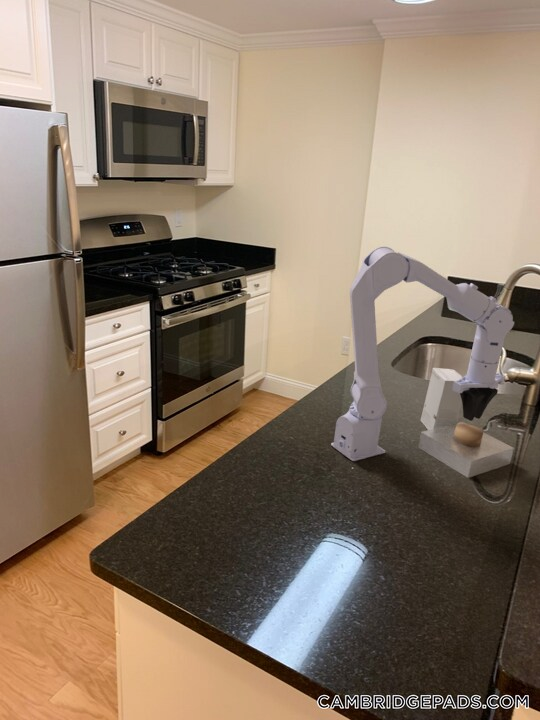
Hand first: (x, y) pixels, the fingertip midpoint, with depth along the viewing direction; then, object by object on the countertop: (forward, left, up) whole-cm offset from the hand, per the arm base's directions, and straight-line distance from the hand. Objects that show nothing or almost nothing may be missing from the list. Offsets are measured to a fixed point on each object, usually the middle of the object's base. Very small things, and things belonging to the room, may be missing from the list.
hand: (471, 417), depth 116 cm
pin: (0, 0, -9) cm, 9 cm away
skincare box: (+5, +12, -10) cm, 16 cm away
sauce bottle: (+110, +75, -10) cm, 133 cm away
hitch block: (0, 0, -9) cm, 9 cm away
